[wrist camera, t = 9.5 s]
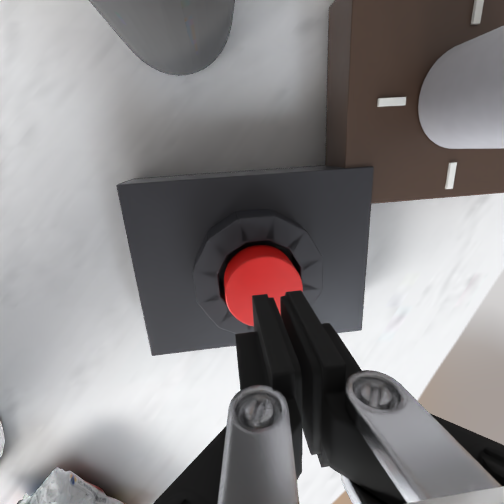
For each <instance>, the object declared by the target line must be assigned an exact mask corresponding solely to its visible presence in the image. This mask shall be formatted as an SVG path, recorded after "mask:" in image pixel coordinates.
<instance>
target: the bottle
mask: <svg viewBox="0 0 504 504" xmlns="http://www.w3.org/2000/svg"><path fill="white" fill-rule="evenodd" d="M89 1H90V2H91V3H92V5H93V6H94V7H95V8H96V9H97V11H98V12H99V13H100V14H101V15H102V16H103V18H104V19H105V20H106V21H107V22H108V24H109V25H110V26H111V27H112V28H113V29H114V31H115V32H116V33H117V34H118V35H119V37H120V38H121V39H122V40H123V41H124V42H125V43H126V44H127V46H128V47H129V48H130V49H131V50H132V51H133V52H134V53H135V54H136V55H137V56H138V57H139V58H140V59H141V60H142V61H143V62H145V63H146V64H148V65H149V66H151V67H152V68H154V69H157V70H159V71H161V72H164V73H167V74H172V75H188V74H193V73H195V72H198V71H200V70H203V69H204V68H206V67H207V66H209V65H210V64H211V63H212V62H213V61H214V60H215V59H216V58H217V57H218V56H219V54H220V53H221V51H222V50H223V48H224V46H225V44H226V42H227V39H228V36H229V33H230V29H231V24H232V18H233V11H234V3H235V0H89Z"/></svg>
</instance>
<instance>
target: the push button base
mask: <svg viewBox="0 0 504 504" xmlns="http://www.w3.org/2000/svg"><path fill="white" fill-rule="evenodd" d="M373 171H374V167H373V166H368V167H354V168H341V167H333V166H326V165H324V166H309V167H295V168H281V169H266V170H252V171H238V172H223V173H209V174H194V175H180V176H166V177H151V178H137V179H132V180H129V181H126V182H123V183H121V184H118V185H117V190H118V195H119V200H120V205H121V210H122V214H123V219H124V224H125V229H126V234H127V238H128V243H129V248H130V253H131V258H132V262H133V267H134V272H135V277H136V282H137V286H138V291H139V296H140V301H141V305H142V310H143V315H144V320H145V325H146V329H147V334H148V339H149V344H150V349H151V353H152V356H155V355H163V354H171V353H179V352H187V351H196V350H204V349H212V348H220V347H228V346H236V337H235V334H238V333H247V332H254V326H250V325H247V324H245V323H243V322H241V321H239V320H238V319H237V318H235V317H234V315H233V314H232V313H231V312H230V310H229V308H228V307H227V304H226V300H225V289H224V273H225V270H226V267H227V265H228V263H229V261H230V260H231V259H232V257H234V256H235V255H236V254H237V253H238V252H239V251H241V250H243V249H245V248H247V247H250V246H254V245H268V246H272V247H275V248H277V249H279V250H280V251H282V252H283V253H284V254H285V255H286V256H287V257H288V258H289V260H290V261H291V263H292V264H293V265H294V267H295V268H296V270H297V271H298V273H299V275H300V277H301V280H302V286H303V294H304V296H305V297H306V299H307V301H308V302H309V304H310V306H311V307H312V309H313V311H314V312H315V314H316V315H317V317H318V319H319V320H320V322H321V324H323V323H330V324H331V325H332V326H333V328H334V329H335V331H336V333H342V332H350V331H359V330H362V317H363V304H364V290H365V277H366V264H367V251H368V237H369V224H370V211H371V198H372V185H373Z"/></svg>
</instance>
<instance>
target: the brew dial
mask: <svg viewBox="0 0 504 504" xmlns="http://www.w3.org/2000/svg"><path fill="white" fill-rule="evenodd" d="M418 113H419V119H420V123H421V126H422V128H423V130H424V132H425V134H426V135H427V136H428V138H429V139H430V140H431V141H433V142H434V143H435V144H437V145H439V146H441V147H444V148H449V149H495V148H504V26H501V27H499V28H497V29H494V30H492V31H490V32H487V33H485V34H483V35H480V36H478V37H476V38H474V39H471V40H469V41H467V42H464V43H462V44H460V45H457V46H455V47H453V48H452V49H450V50H448V51H447V52H446V53H444V54H443V55H442V56H441V57H440V58H439V59H438V60H437V61H436V62H435V64H434V65H433V66H432V68H431V69H430V71H429V72H428V74H427V76H426V78H425V80H424V82H423V85H422V88H421V91H420V96H419V103H418Z"/></svg>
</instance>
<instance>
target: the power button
mask: <svg viewBox="0 0 504 504" xmlns="http://www.w3.org/2000/svg"><path fill="white" fill-rule="evenodd" d="M224 289H225V300H226V304H227V307H228V308H229V310H230V312H231V313H232V314H233V315H234V317H235V318H237V319H238V320H239V321H241V322H243V323H245V324H247V325H250V326H254V322H253V307H252V295H261V294H267V295H268V297H269V298H270V297H273V298H274V300H275V302H276V305H277V308H278V310H279V313H280V315H281V310H280V297H281V296H285V293H286V292H289V291H299V290H301V291H302V292H303V286H302V280H301V277H300V275H299V273H298V271H297V270H296V268H295V267H294V265H293V264H292V263H291V261H290V260H289V258H288V257H287V256H286V255H285V254H284V253H283V252H282V251H280V250H279V249H277V248H275V247H272V246H268V245H254V246H250V247H247V248H245V249H243V250H241V251H239V252H238V253H237V254H236V255H235V256H234V257H232V259H231V260H230V261H229V263H228V265H227V267H226V270H225V273H224Z"/></svg>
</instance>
